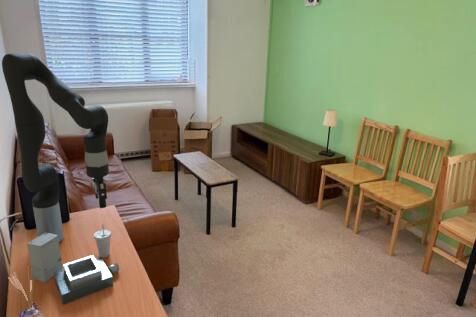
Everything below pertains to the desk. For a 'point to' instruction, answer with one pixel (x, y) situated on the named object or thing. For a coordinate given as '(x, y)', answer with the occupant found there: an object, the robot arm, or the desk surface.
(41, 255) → the skincare box
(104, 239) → the smoothie
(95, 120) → the robot arm
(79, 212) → the desk surface
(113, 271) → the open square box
